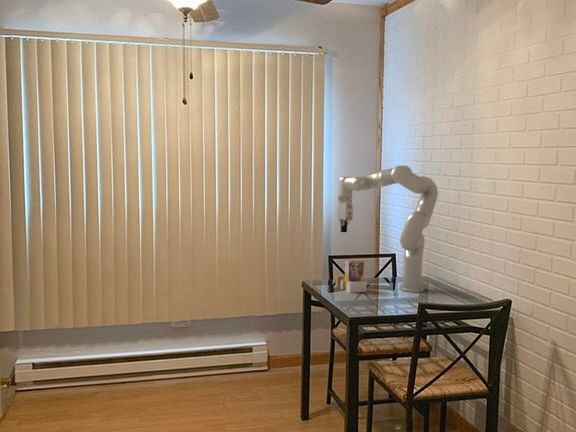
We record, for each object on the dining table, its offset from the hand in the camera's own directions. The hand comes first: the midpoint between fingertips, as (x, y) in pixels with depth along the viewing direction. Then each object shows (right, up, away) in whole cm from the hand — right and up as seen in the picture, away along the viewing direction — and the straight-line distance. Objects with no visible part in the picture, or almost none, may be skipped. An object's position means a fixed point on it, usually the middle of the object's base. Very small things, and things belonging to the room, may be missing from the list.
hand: (343, 231), depth 337 cm
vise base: (0, -29, -20) cm, 35 cm away
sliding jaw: (0, -28, -19) cm, 34 cm away
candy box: (+3, -29, -25) cm, 38 cm away
